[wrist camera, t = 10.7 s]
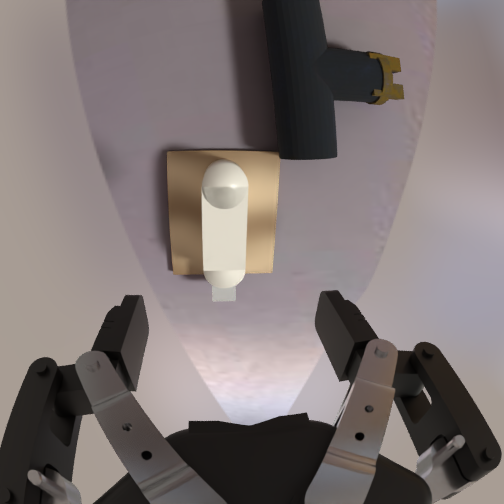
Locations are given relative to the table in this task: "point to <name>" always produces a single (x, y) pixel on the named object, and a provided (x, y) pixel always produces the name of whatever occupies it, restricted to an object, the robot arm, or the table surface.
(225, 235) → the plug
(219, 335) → the table surface
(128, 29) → the table surface
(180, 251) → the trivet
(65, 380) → the robot arm
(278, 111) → the pipe connector
